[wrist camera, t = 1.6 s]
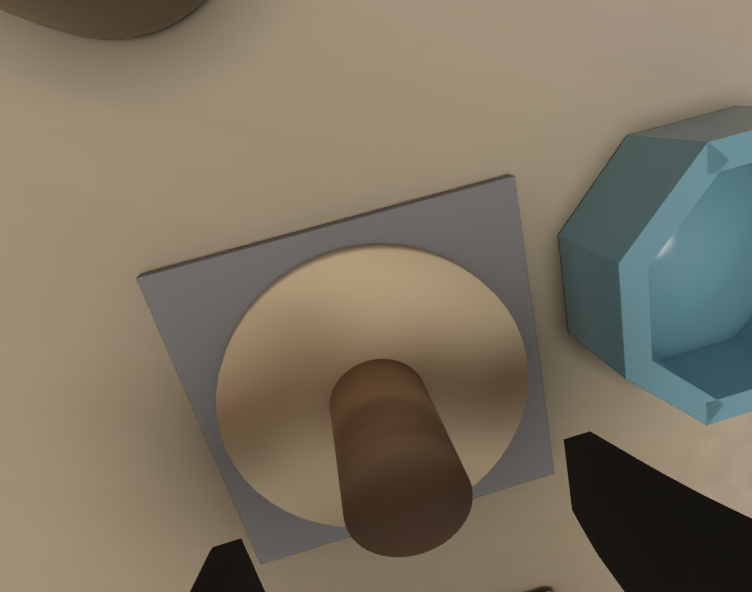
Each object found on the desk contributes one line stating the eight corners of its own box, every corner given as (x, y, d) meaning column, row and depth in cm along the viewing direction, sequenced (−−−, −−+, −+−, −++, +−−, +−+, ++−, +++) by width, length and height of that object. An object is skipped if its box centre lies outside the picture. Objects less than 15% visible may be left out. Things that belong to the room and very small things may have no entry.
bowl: (791, 328, 19) (884, 369, 16) (575, 393, 18) (630, 448, 15) (808, 86, 16) (928, 81, 13) (549, 156, 15) (612, 167, 12)
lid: (534, 463, 19) (619, 587, 14) (274, 543, 18) (269, 702, 13) (494, 205, 15) (589, 251, 10) (170, 295, 15) (110, 389, 10)
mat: (549, 466, 19) (554, 473, 19) (261, 555, 19) (260, 564, 18) (509, 174, 15) (514, 175, 15) (140, 274, 15) (136, 278, 14)
